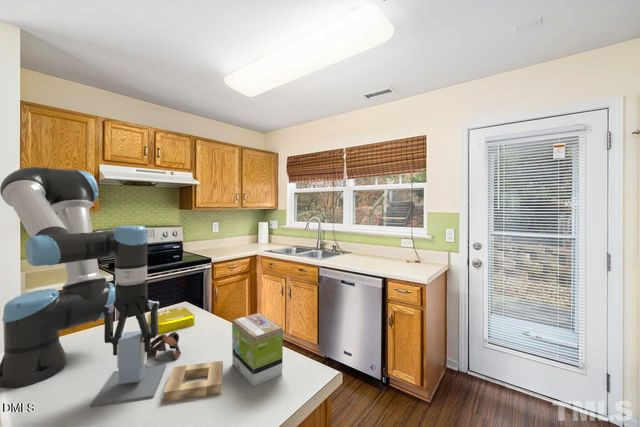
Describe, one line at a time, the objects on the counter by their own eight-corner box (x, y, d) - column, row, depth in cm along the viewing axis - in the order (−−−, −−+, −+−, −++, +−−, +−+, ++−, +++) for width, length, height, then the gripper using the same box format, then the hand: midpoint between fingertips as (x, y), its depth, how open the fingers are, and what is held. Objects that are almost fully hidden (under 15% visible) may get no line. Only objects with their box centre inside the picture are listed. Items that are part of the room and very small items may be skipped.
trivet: (90, 407, 73) (90, 404, 73) (114, 373, 88) (114, 371, 88) (153, 397, 77) (153, 395, 77) (166, 366, 92) (166, 364, 92)
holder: (163, 401, 76) (163, 392, 76) (173, 375, 87) (173, 367, 87) (221, 392, 80) (221, 383, 80) (222, 368, 91) (222, 360, 91)
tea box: (230, 364, 94) (231, 318, 93) (259, 354, 100) (259, 311, 99) (253, 388, 82) (253, 335, 82) (283, 374, 89) (284, 326, 88)
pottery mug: (174, 366, 93) (159, 347, 91) (150, 376, 94) (135, 357, 92) (191, 339, 104) (178, 321, 102) (170, 349, 106) (156, 331, 104)
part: (118, 384, 79) (118, 340, 79) (125, 373, 84) (125, 332, 84) (139, 381, 81) (139, 338, 80) (145, 371, 85) (144, 330, 85)
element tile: (155, 336, 113) (155, 324, 113) (146, 324, 124) (146, 312, 124) (196, 326, 123) (196, 314, 123) (184, 315, 134) (184, 304, 134)
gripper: (86, 287, 75) (87, 376, 76) (164, 283, 80) (165, 366, 81) (99, 280, 83) (100, 361, 83) (170, 276, 88) (170, 353, 88)
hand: (132, 364), depth 82 cm, fingers closed on part, 5 cm apart
